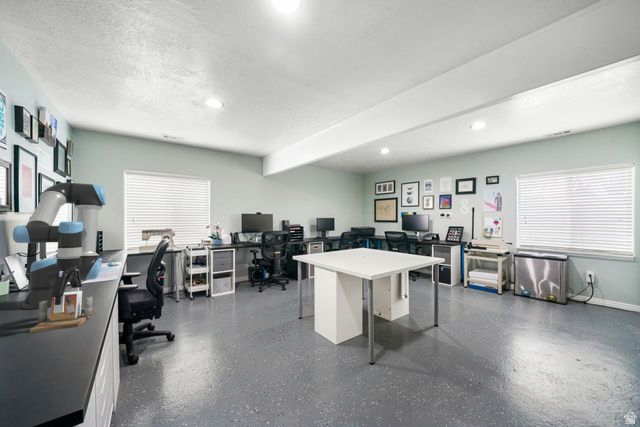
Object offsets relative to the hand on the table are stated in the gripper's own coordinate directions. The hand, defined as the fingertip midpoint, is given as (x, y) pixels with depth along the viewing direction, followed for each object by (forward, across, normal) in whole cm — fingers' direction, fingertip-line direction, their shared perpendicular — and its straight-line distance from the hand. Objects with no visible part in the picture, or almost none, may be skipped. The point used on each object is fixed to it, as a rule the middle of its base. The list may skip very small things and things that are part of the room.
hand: (66, 307), depth 106 cm
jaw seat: (+6, 0, 0) cm, 6 cm away
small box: (+5, 0, 0) cm, 5 cm away
